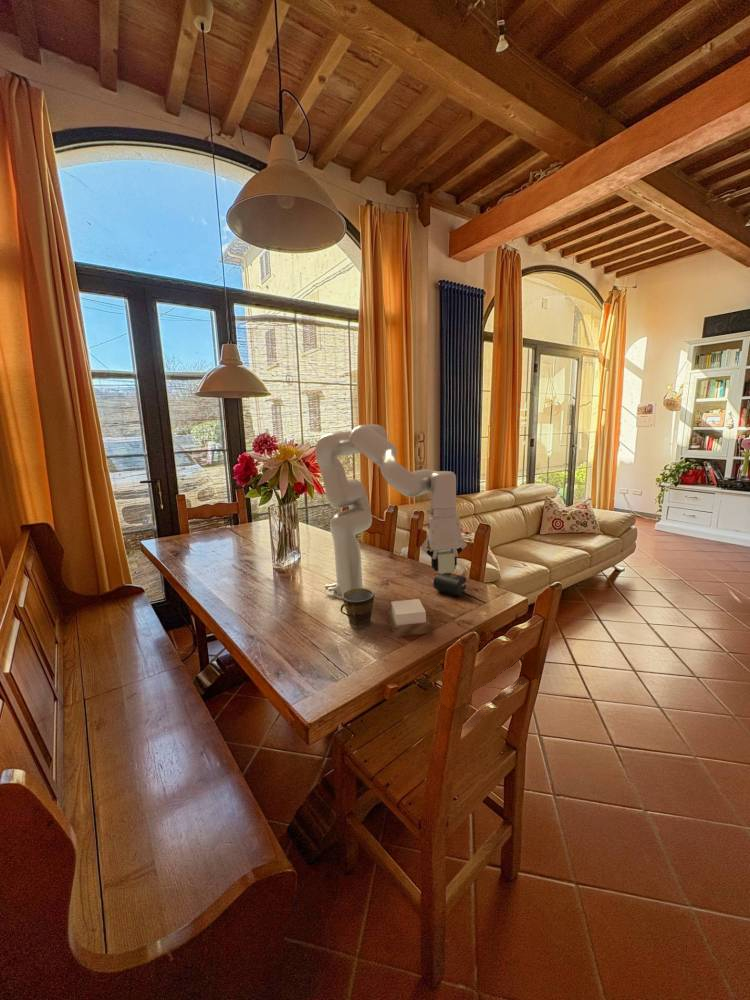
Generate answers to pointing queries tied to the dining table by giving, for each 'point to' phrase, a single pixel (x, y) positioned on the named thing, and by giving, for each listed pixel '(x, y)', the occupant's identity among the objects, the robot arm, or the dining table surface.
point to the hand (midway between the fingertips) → (444, 568)
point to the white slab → (408, 612)
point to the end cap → (450, 584)
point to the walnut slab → (409, 627)
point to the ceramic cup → (358, 607)
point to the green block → (446, 561)
